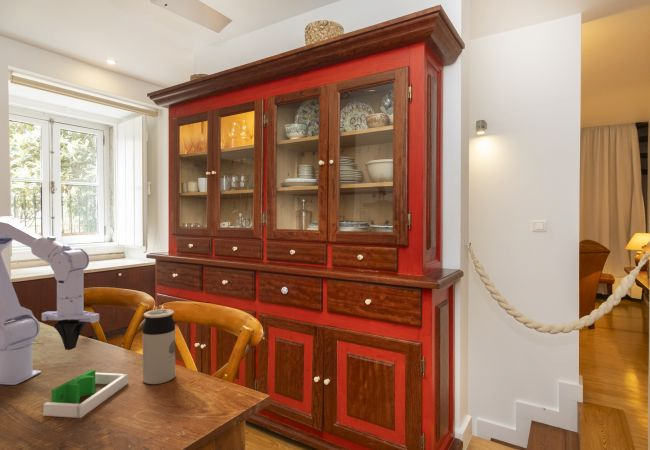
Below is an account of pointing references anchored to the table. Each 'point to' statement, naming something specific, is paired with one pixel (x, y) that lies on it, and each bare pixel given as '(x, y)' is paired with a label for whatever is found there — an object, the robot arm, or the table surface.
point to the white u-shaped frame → (82, 409)
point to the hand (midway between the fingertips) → (70, 348)
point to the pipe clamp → (75, 388)
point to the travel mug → (158, 346)
